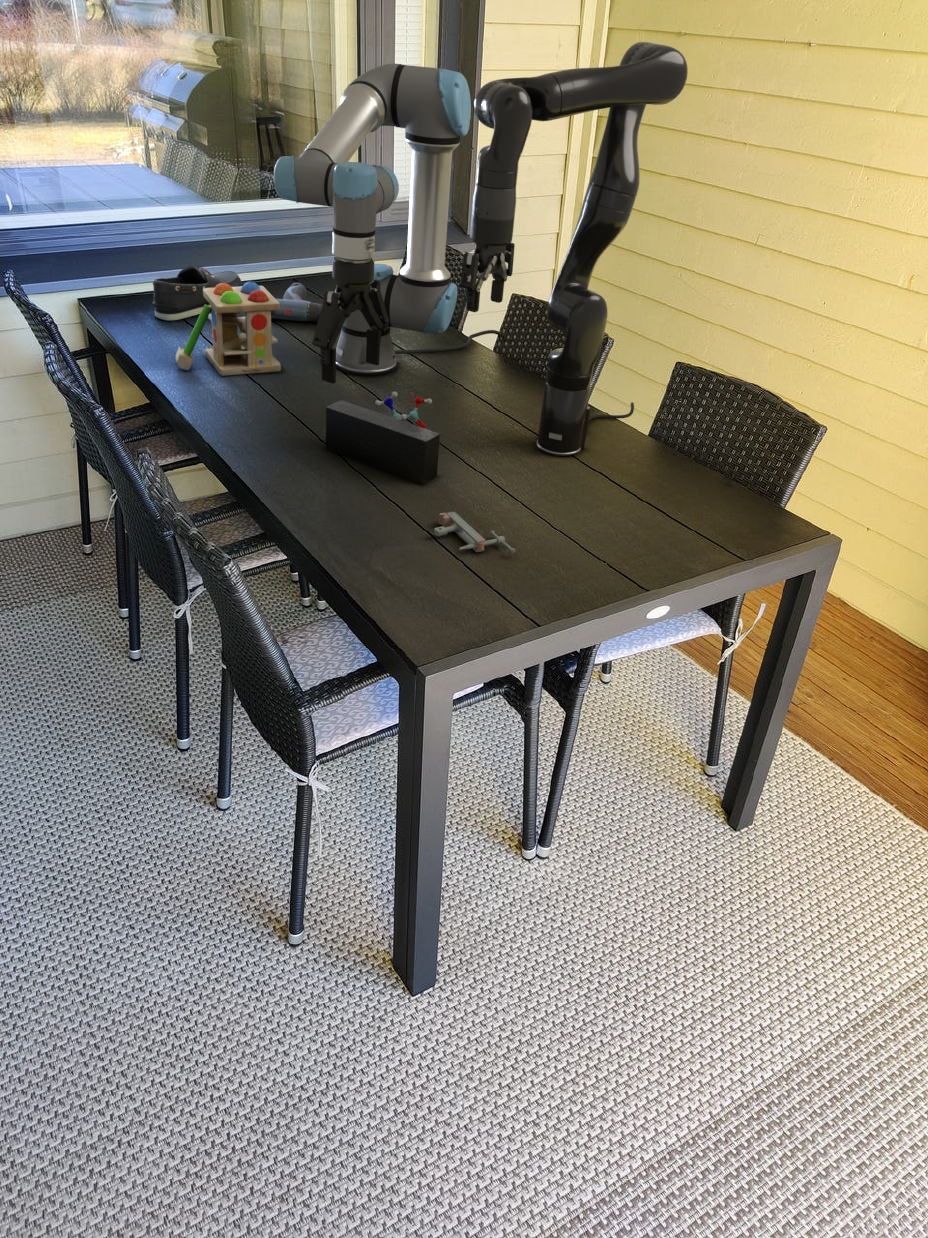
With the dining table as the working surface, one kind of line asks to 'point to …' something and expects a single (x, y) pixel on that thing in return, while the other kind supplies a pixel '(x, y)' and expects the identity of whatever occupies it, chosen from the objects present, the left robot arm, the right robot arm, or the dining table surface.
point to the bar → (382, 442)
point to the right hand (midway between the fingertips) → (484, 306)
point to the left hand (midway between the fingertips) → (351, 372)
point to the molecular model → (412, 415)
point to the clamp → (466, 533)
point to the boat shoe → (187, 291)
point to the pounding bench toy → (229, 347)
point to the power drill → (297, 305)
